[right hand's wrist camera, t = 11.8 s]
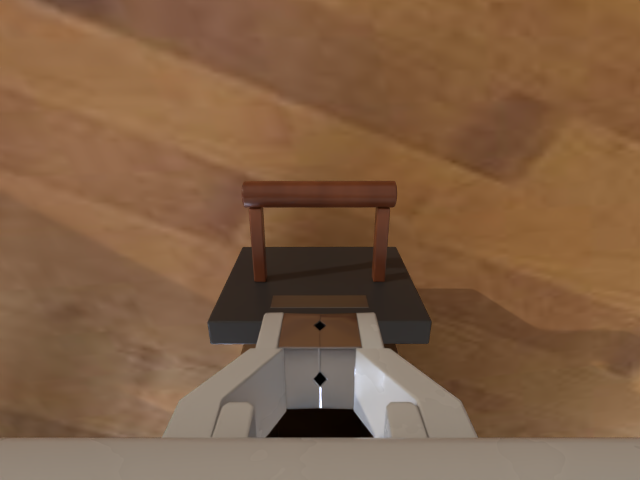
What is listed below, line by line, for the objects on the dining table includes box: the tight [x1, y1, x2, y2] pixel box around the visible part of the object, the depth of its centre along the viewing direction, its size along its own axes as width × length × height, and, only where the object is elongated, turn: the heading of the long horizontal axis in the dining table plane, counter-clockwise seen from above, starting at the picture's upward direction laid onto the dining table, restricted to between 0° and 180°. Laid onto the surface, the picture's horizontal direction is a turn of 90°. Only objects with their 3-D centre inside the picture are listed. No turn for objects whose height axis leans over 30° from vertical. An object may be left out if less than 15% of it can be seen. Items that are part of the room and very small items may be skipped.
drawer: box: [208, 181, 432, 438], centre depth 22 cm, size 26×10×8 cm, turn 0°
